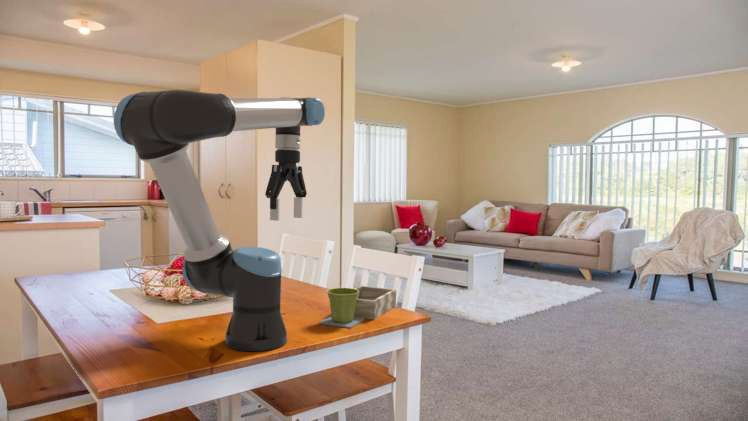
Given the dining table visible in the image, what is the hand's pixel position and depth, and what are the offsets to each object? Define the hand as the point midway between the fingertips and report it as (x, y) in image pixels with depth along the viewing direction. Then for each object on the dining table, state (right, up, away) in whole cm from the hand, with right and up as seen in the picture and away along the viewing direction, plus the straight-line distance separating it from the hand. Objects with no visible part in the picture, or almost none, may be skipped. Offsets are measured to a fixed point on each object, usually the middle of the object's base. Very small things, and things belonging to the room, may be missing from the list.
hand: (286, 219), depth 162 cm
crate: (+25, -29, +6) cm, 38 cm away
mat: (+18, -30, -9) cm, 36 cm away
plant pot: (+18, -30, -9) cm, 36 cm away
